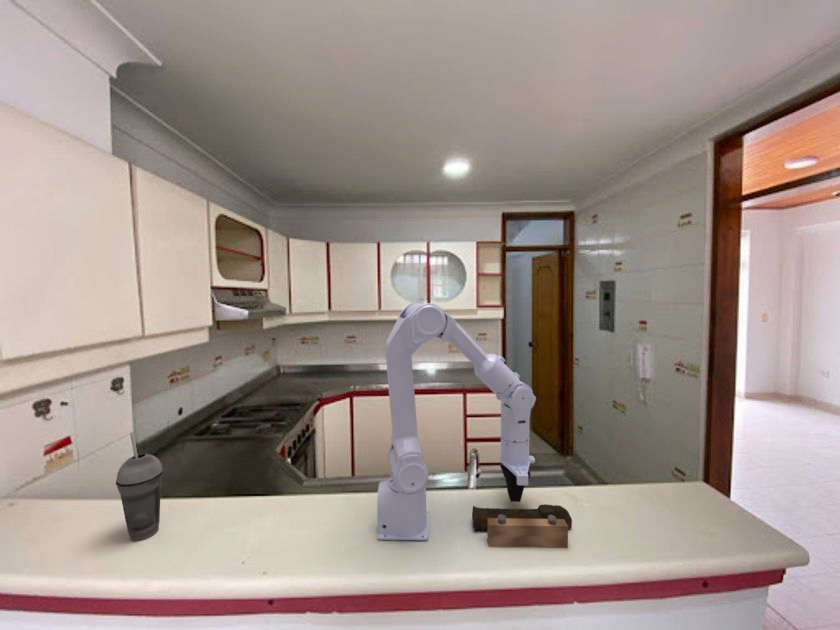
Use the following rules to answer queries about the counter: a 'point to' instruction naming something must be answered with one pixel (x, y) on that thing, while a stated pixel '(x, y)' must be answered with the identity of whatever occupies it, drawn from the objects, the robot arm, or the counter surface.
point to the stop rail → (527, 532)
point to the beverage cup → (140, 493)
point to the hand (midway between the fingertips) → (514, 499)
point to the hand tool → (519, 514)
